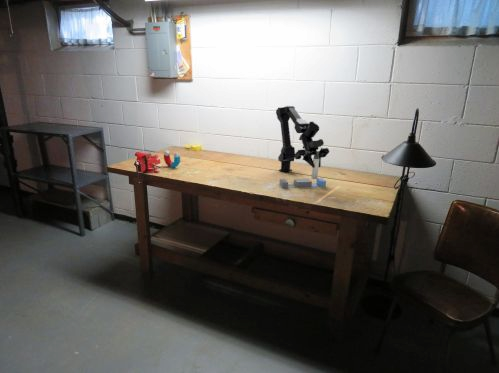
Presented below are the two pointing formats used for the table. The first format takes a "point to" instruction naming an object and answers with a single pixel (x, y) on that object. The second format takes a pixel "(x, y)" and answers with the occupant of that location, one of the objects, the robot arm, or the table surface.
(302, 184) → the gray notched block
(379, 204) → the table surface
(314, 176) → the dark-capped white cylinder
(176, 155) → the magnet
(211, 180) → the table surface
